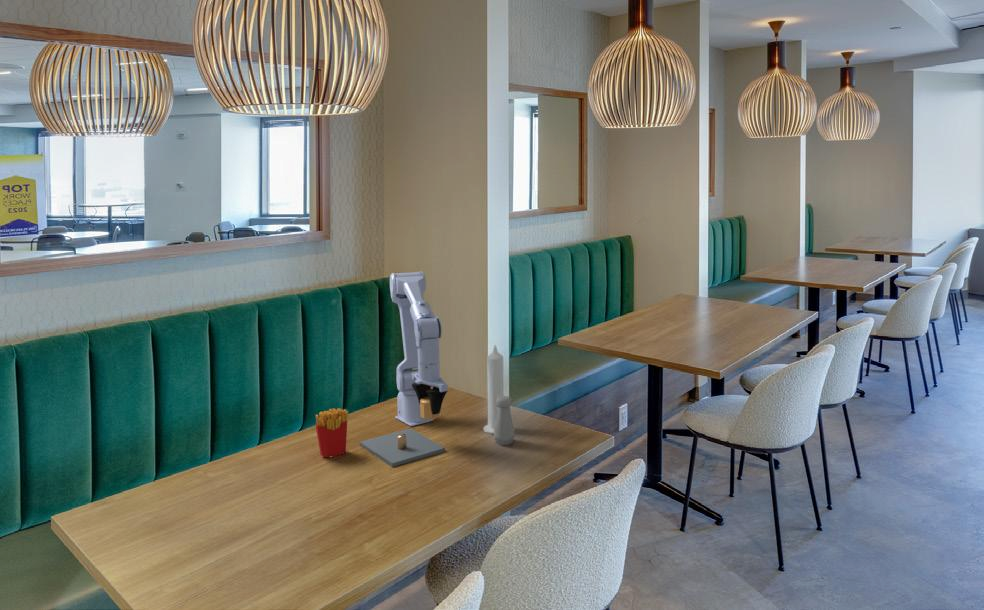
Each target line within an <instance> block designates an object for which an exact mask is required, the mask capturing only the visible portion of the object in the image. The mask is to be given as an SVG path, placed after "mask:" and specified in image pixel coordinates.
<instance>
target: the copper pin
mask: <svg viewBox="0 0 984 610" xmlns="http://www.w3.org/2000/svg"><path fill="white" fill-rule="evenodd" d="M397 442H398V449H399V450H404V449H406V448H407V439H406V434H399V435H397Z"/></svg>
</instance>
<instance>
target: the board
mask: <svg viewBox="0 0 984 610" xmlns="http://www.w3.org/2000/svg"><path fill="white" fill-rule="evenodd" d="M399 434H406V439H407V448H406V449H404V450H399V449H398V442H397V435H399ZM358 443H359V446H360V445H361V446H363V447H364V448H365V450H366V449H367V450H368V452H369V451H370V452H371V453H370V452H369V453H370V454H372V453H373V454H374V456H375V455H376V457H377V458H378V457H379V458H378V459H379V460H381V461H383V462H384V463H386V464H387V465H389V466H390V467H392V468H393V466H394V467H396V466H400V464H401V465H404V464H407V462H408V463H410V462H414V461H418V460H421V459H424V458H428V457H431V456H434V455H437V454H441V453H445V452H446V447H444V446H443V445H441V444H439V443H437V442H435V441H434V440H432V439H430V438H428V437H426V436H425V435H424V434H421V433H419V432H418V431H415V430H414V429H413V428H408V429H407V428H406V429H403V430H399V431H396V432H391V433H388V434H384V435H380V436H376V437H373V438H368V439H364V440H362V441H359V442H358ZM361 446H360V447H361ZM363 447H362V448H363ZM364 448H363V449H364ZM367 450H366V451H367ZM373 454H372V455H373ZM403 463H404V464H403Z"/></svg>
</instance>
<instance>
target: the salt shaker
mask: <svg viewBox="0 0 984 610" xmlns="http://www.w3.org/2000/svg"><path fill="white" fill-rule="evenodd" d="M496 405H497V406H498V412H497V418H496V424H495V430H494V434H493V438H494V440H495V443H496V444H497V445H499V446H509V445H511V444H513V441H514V439H515V436H516V435H515V434H516V433H515V428H514V425H513V424H514V423H513V419H512V412H511V407H512V405H513V400H512V398H511V397H510V396H507V395H504V396H500V397H498V398H497V399H496Z"/></svg>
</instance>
